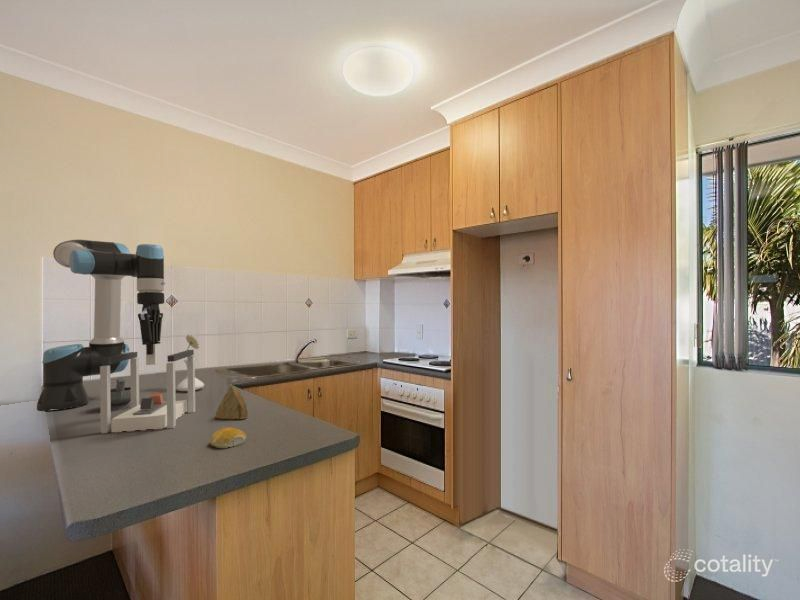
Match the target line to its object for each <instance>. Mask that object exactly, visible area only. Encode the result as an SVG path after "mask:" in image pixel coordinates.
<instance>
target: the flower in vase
mask: <svg viewBox="0 0 800 600" xmlns="http://www.w3.org/2000/svg"><path fill="white" fill-rule="evenodd" d="M185 339H186V342H187V343H188V346H187V349H186V350H190V349H189V348H190V347H191V348H192V349H195V350H198V349H199V348H200V343H198V340H197V338H195V337H194V336H193V335H192V334H191V335H190V334H187V335H186V337H185ZM195 361H197V359H196V358H195ZM183 362H184V363H185V365H186V366H187V358H185V359H183ZM204 387H205V383H204V382H203V381H202V380H200V379H198V378H197V377H195V391H197V390H201V389H203V388H204ZM175 390H177V391H179V392H188V372H187V371H186V377H185V378H184V379H183V380H181V381H180V382H179V383H178V384H177V385H175Z"/></svg>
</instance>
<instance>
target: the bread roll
mask: <svg viewBox="0 0 800 600" xmlns="http://www.w3.org/2000/svg"><path fill="white" fill-rule="evenodd" d="M246 439H247V434H246V433H245V432H244V431H243V430H241V429H239V428H234V427H229V426H227V427H223V428H220V429H218V430H216V431H215V432H214V433H213V434H212V436H211V438H210V445H211V446H212V447H214V446H215V448H218V449H229V448H228V447H230V448H234V447H237V445H238V446H241V445H242V444H244V442H245V441H246ZM233 446H234V447H233Z"/></svg>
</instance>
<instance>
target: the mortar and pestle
mask: <svg viewBox="0 0 800 600" xmlns="http://www.w3.org/2000/svg"><path fill="white" fill-rule="evenodd" d="M115 381H116V386H115V388H110V398H111V411H112V410H115V411H120V410H119V409H122V410H125V409H124V408H126V409H128V408H127V407H129V408H130V403H131V386H129V387H128V386H125V382H126V377H124V376H123V377H118V378H116V380H115Z"/></svg>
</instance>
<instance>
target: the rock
mask: <svg viewBox="0 0 800 600" xmlns="http://www.w3.org/2000/svg"><path fill="white" fill-rule="evenodd" d="M218 405H219V406H218V407H217V410H216V412H215V415H214V419H221V420H244V419H248V409H247V405H246V403H245V400H244V397H243V395H241V392H240V391H239V390H238V388H236V387H234V386H229V389H227V391H226V393H225V394H224V396H223V398H222V400H221V401H220V404H218Z"/></svg>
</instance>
